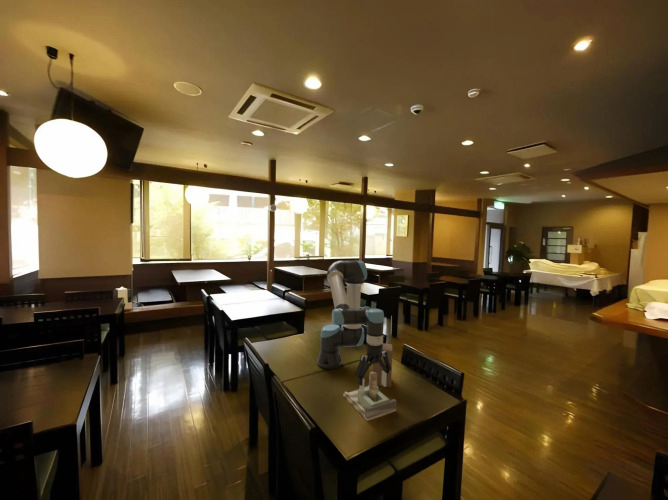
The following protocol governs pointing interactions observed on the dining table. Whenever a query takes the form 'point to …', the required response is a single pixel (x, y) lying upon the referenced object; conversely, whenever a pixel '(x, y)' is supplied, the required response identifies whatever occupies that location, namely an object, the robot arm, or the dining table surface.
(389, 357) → the wooden block
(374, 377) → the dowel
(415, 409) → the dining table surface
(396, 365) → the dining table surface
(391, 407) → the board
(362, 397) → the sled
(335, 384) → the dining table surface
